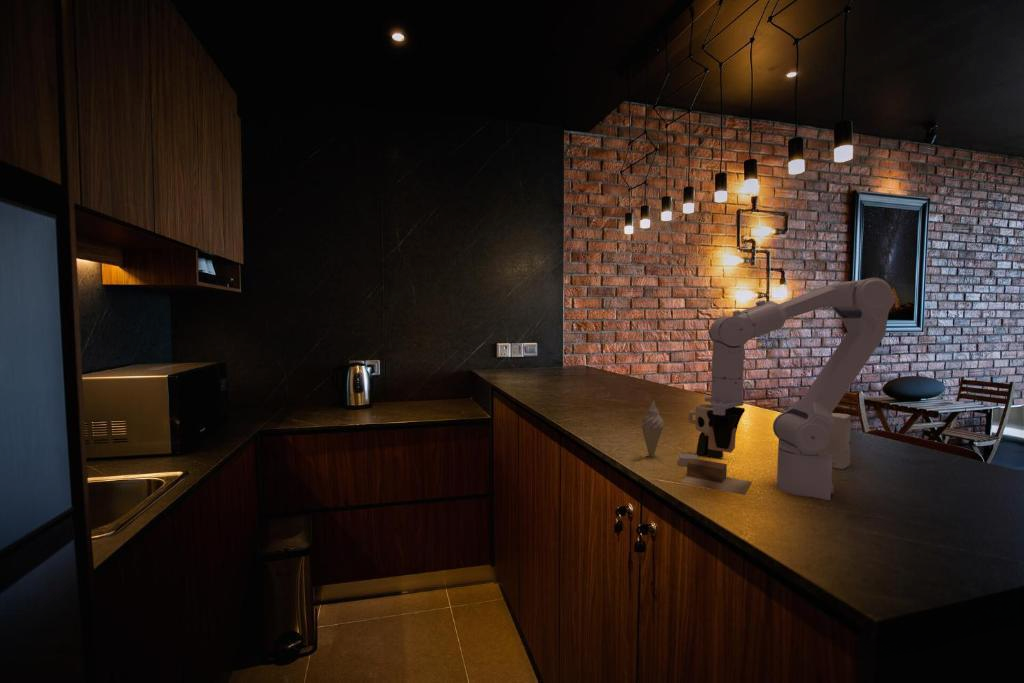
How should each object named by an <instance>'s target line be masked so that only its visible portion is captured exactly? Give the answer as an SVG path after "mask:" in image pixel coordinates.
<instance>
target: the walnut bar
mask: <svg viewBox="0 0 1024 683" xmlns="http://www.w3.org/2000/svg"><path fill="white" fill-rule="evenodd" d="M727 466H728V464H727V463H724V462H718V461H717V462H716V461H712V460H704V459H700V458H698V459H694V458H692V459H691V460H690V461H689V462H688V463H687V467H686V476H689V477H695V478H700V479H705V480H710V481H716V482H721V483H722V482H723V481H724V479H725V478H726V477H727V473H728V472H727Z"/></svg>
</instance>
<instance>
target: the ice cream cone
mask: <svg viewBox="0 0 1024 683" xmlns="http://www.w3.org/2000/svg"><path fill="white" fill-rule="evenodd" d="M646 413H647V414H646V415H644V416H643V418H642V425H641V429H642V434H643V437H644V438H643V439H644V441H645V445H646V449H647V453H648V457H650V458H654V457H655V453H656V450H657V447H658V445H659V444H658V443H659V441H660V437H661V434H662V431H663V429H664V428H663V427H664V419H663V418H662V417H661V415H660V414H659V409H658V407H657V405H656V403H655V400H654V399H652V401H651V403H650V406H649V407H648V410H647V411H646Z"/></svg>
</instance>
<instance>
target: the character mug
mask: <svg viewBox="0 0 1024 683" xmlns="http://www.w3.org/2000/svg"><path fill="white" fill-rule="evenodd" d="M708 410H713V405H712V404H711V403H698V404H697V403H696V406H695V410H689V411H688V419H687V420H688V423H689V424H692V425H694V426H695V430H696V431H698V432H699V433H700V434H699V435H698V441H697V445H696V451H695V452H696V454H695V455H697V456H698V457H702V458H703V457H704V456H705V457H706V456H707V458H709V459H716V460H721V459H722V458H723V457H724V452H723V451H717V450H712V449H708V441H709V428H710V427H711V426H712V425H711V422H710V420H709V418H708V416H707V411H708ZM693 415H695V419H693ZM705 457H704V458H705Z"/></svg>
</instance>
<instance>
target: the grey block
mask: <svg viewBox="0 0 1024 683" xmlns="http://www.w3.org/2000/svg"><path fill="white" fill-rule="evenodd" d="M692 458H694V459H699V456H698V455H696V454H692V453H678V464H679V467H686V468H687V463H688V462H689V461H690V460H691V459H692Z"/></svg>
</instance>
